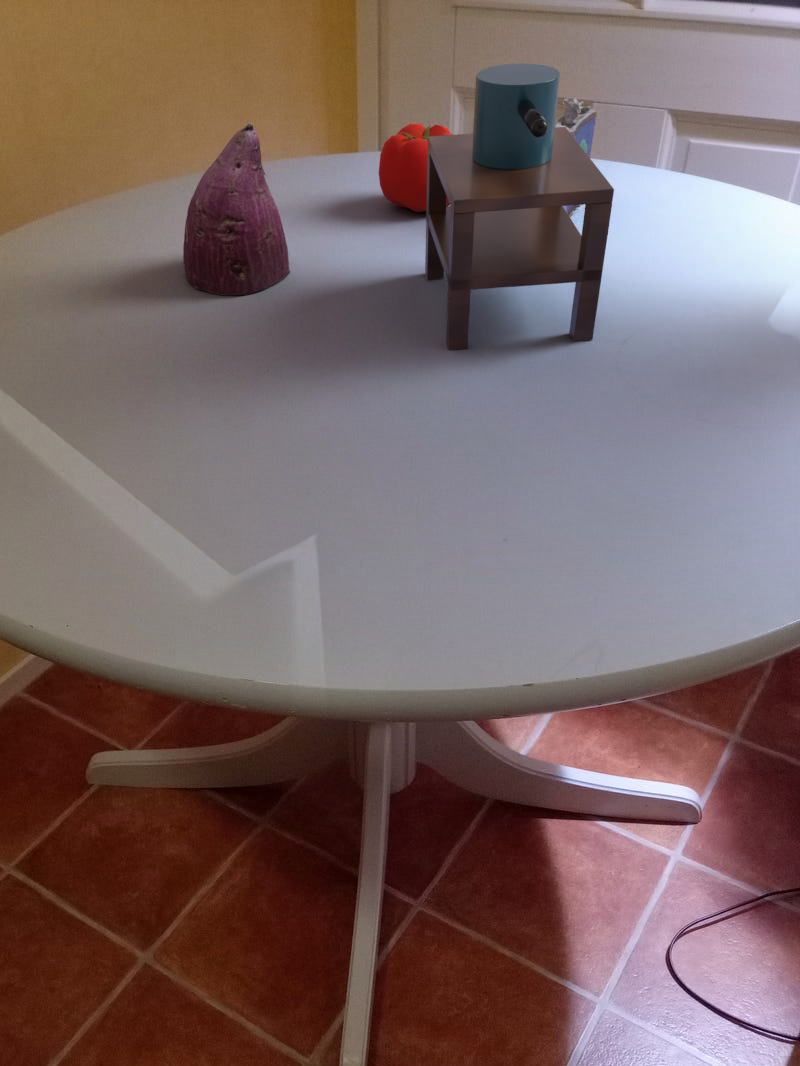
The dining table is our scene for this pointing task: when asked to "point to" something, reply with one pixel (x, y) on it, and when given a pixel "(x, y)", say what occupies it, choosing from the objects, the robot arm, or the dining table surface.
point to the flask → (578, 129)
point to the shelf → (515, 227)
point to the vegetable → (235, 224)
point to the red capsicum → (407, 166)
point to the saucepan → (515, 115)
